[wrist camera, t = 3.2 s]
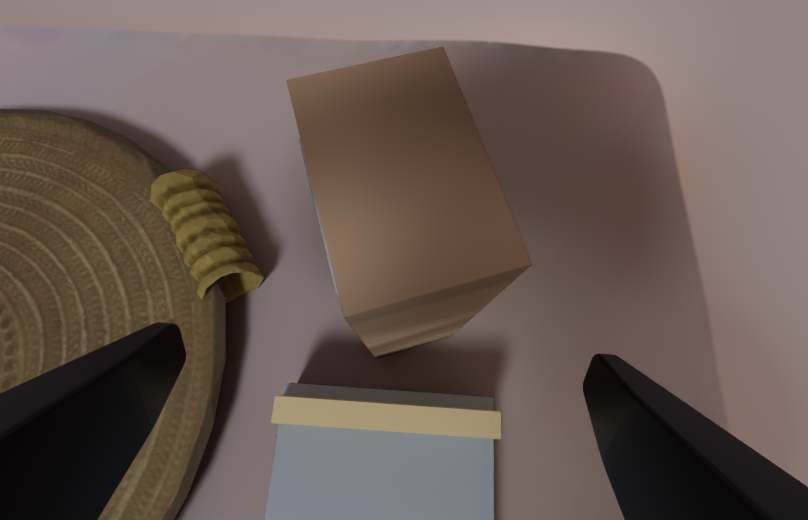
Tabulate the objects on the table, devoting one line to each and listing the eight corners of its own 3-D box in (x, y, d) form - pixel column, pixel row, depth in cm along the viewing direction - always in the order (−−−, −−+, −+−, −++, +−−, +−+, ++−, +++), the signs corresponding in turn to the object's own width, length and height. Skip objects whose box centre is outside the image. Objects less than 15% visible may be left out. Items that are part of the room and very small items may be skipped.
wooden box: (455, 334, 19) (538, 262, 8) (372, 358, 19) (336, 319, 8) (420, 228, 21) (448, 45, 10) (344, 248, 21) (280, 81, 9)
